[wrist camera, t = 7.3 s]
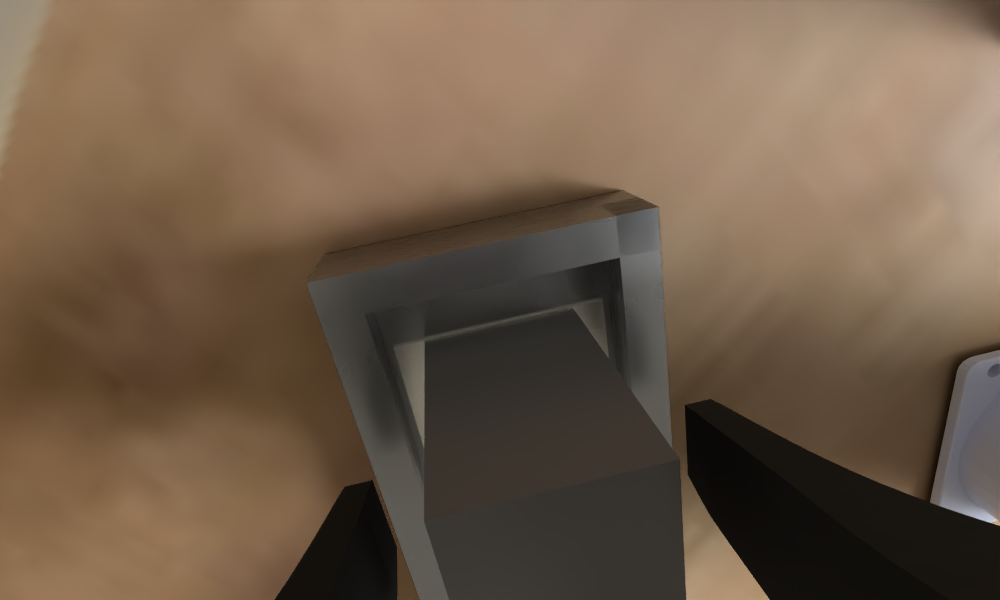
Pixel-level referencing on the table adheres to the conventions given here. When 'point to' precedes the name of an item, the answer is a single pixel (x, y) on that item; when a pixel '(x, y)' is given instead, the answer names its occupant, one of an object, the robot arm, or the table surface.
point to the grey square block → (546, 470)
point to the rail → (485, 323)
